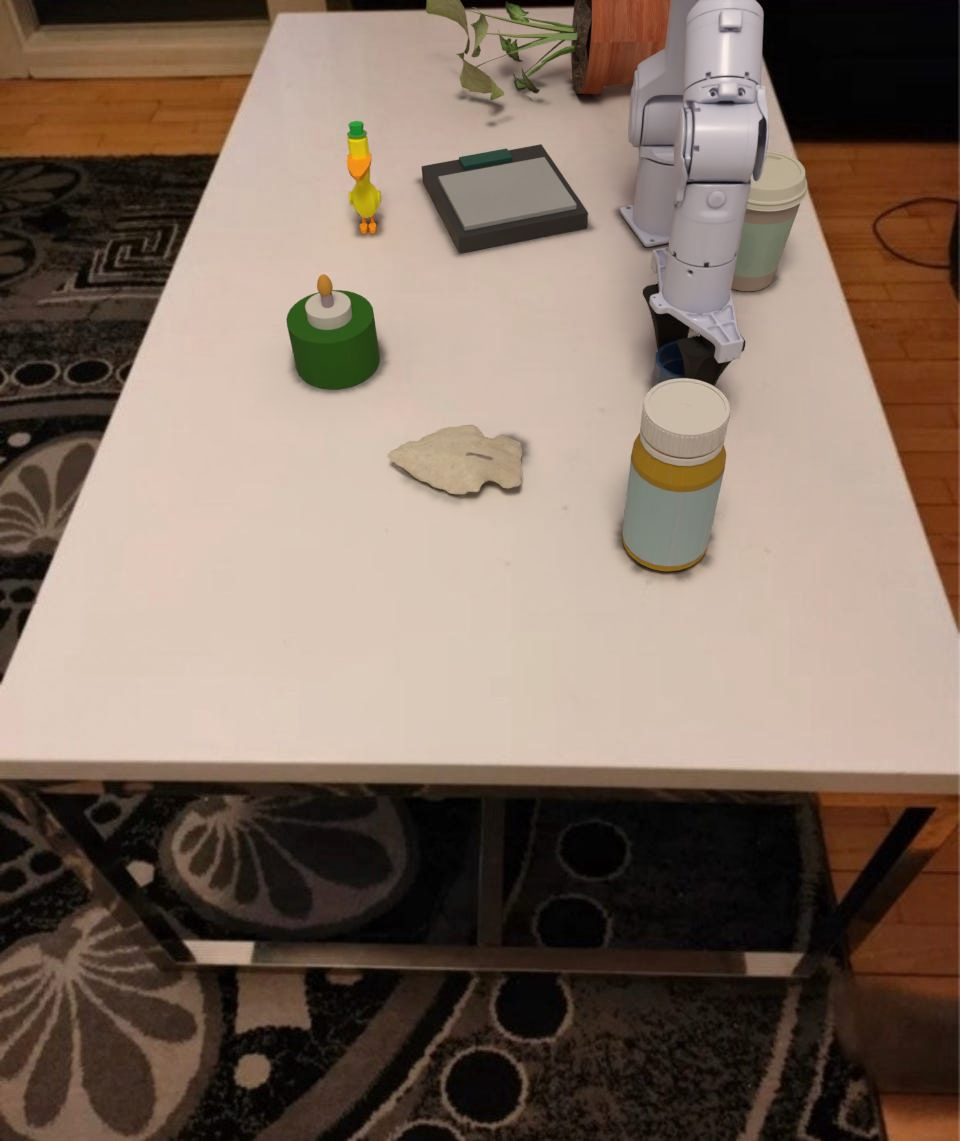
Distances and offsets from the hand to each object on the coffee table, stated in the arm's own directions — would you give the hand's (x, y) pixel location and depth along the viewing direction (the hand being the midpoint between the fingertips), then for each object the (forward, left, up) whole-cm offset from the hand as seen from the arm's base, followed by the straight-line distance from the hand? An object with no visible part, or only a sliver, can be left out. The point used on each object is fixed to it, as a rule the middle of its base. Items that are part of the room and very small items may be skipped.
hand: (682, 376), depth 94 cm
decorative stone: (+23, +3, -2) cm, 23 cm away
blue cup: (0, 0, -2) cm, 2 cm away
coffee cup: (-14, -15, -2) cm, 21 cm away
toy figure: (+22, -37, -2) cm, 43 cm away
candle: (+30, -15, -2) cm, 34 cm away
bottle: (+9, +17, -2) cm, 19 cm away
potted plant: (-8, -61, -2) cm, 62 cm away
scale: (+6, -37, -2) cm, 38 cm away
